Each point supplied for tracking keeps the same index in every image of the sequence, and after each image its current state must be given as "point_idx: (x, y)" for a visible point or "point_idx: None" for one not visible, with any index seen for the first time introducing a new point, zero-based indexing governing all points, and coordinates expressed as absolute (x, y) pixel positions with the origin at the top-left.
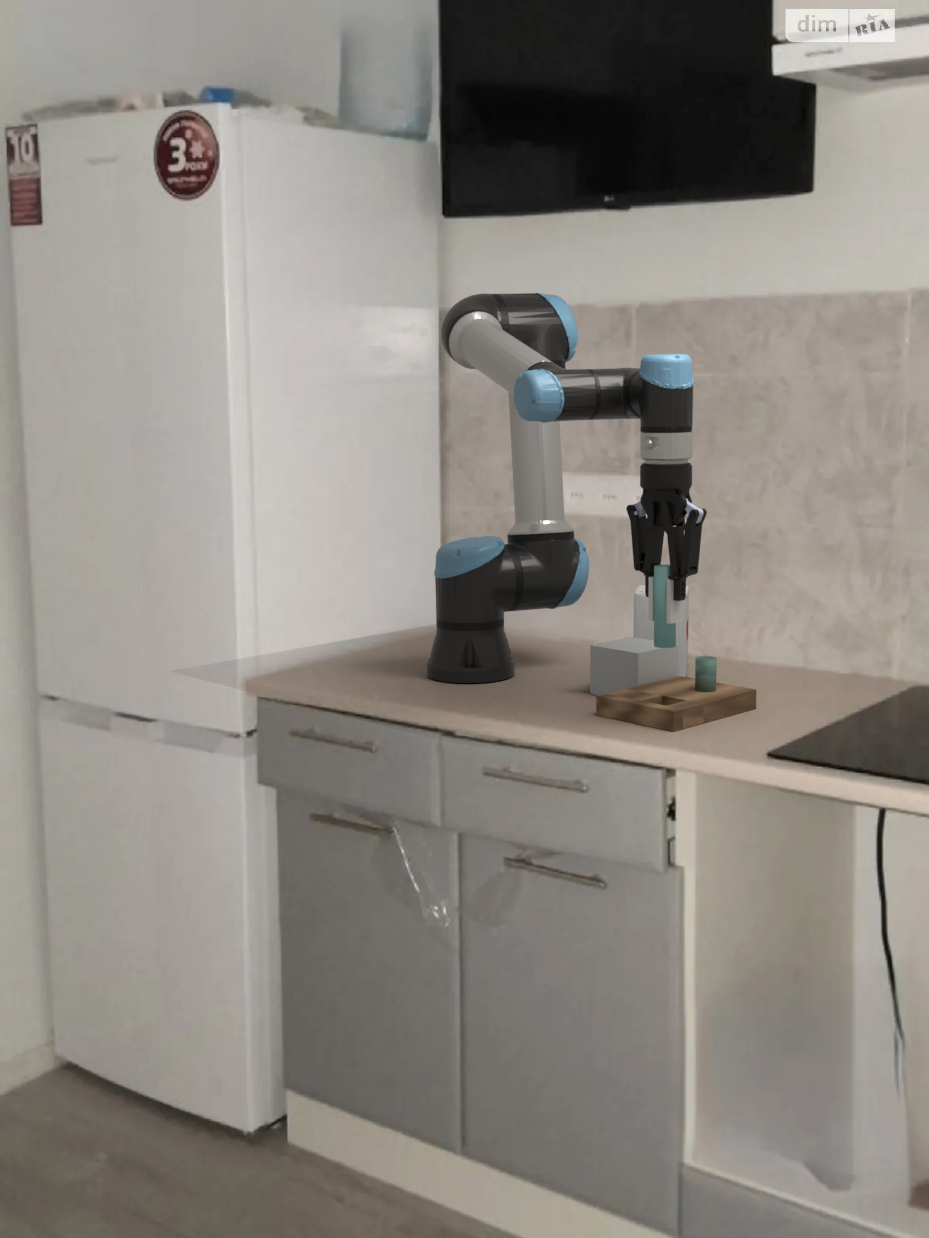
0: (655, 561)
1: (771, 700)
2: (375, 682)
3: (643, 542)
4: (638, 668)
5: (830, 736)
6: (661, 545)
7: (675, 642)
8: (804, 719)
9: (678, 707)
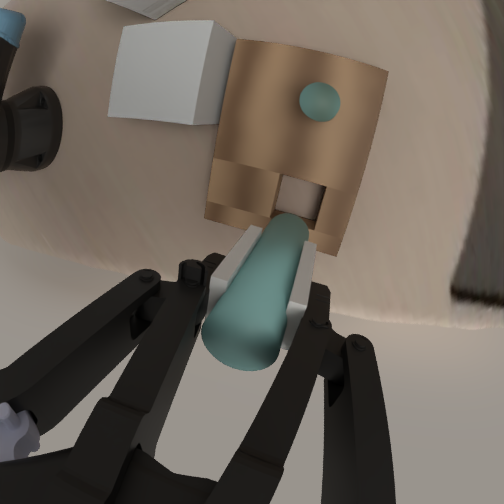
0: (192, 335)
1: (377, 22)
2: (21, 200)
3: (103, 354)
4: (203, 124)
5: (497, 191)
6: (174, 364)
7: (307, 233)
8: (457, 114)
9: (333, 233)
